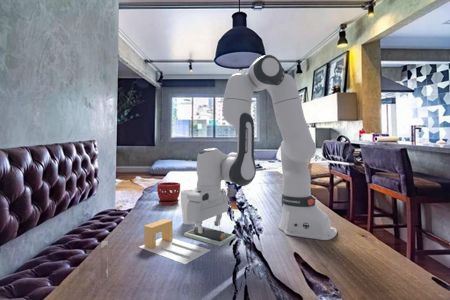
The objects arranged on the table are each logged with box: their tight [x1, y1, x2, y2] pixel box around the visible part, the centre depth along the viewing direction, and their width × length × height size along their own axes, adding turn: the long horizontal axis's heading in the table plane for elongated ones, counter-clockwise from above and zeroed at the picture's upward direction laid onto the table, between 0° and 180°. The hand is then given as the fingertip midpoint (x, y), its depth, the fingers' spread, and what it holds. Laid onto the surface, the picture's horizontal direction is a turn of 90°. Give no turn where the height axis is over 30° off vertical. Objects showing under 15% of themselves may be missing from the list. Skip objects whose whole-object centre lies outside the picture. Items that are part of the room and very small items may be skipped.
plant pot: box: [156, 181, 181, 206], centre depth 156 cm, size 13×13×12 cm
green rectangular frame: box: [183, 228, 236, 247], centre depth 99 cm, size 17×9×2 cm, turn 54°
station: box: [138, 237, 212, 265], centre depth 89 cm, size 22×12×2 cm, turn 54°
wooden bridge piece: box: [143, 218, 174, 248], centre depth 93 cm, size 4×9×7 cm, turn 144°
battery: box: [193, 225, 226, 242], centre depth 99 cm, size 13×4×4 cm, turn 54°
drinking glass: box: [180, 189, 195, 226], centre depth 116 cm, size 7×7×15 cm
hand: (209, 228), depth 99 cm, fingers open, 8 cm apart
